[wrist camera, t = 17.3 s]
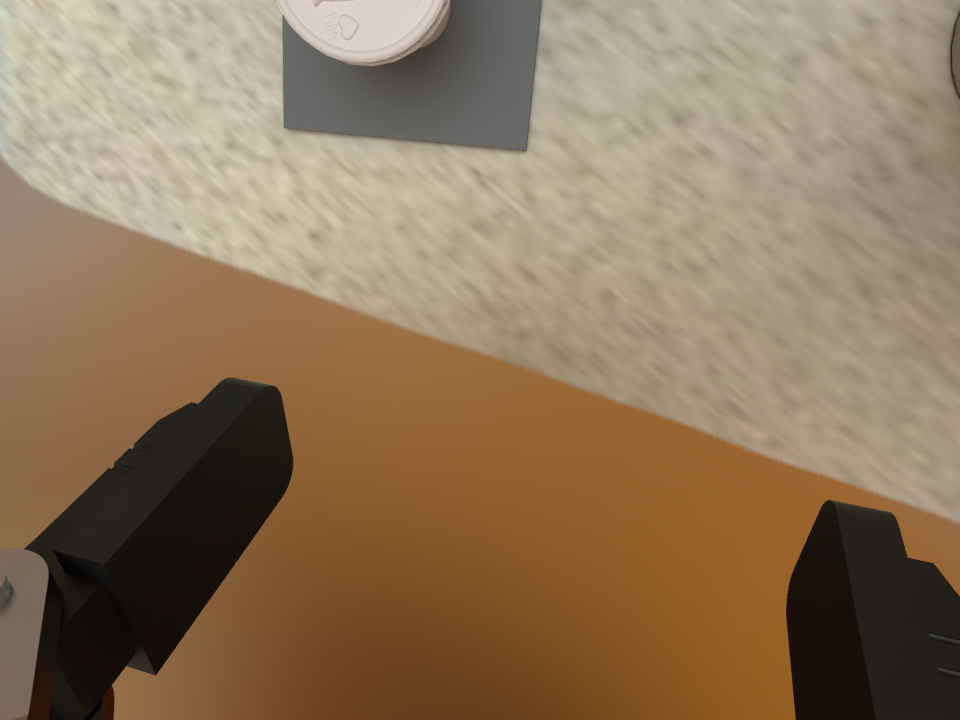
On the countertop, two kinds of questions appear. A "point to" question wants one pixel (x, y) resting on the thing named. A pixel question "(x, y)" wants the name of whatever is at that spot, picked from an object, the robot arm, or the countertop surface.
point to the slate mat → (426, 82)
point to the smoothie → (367, 27)
